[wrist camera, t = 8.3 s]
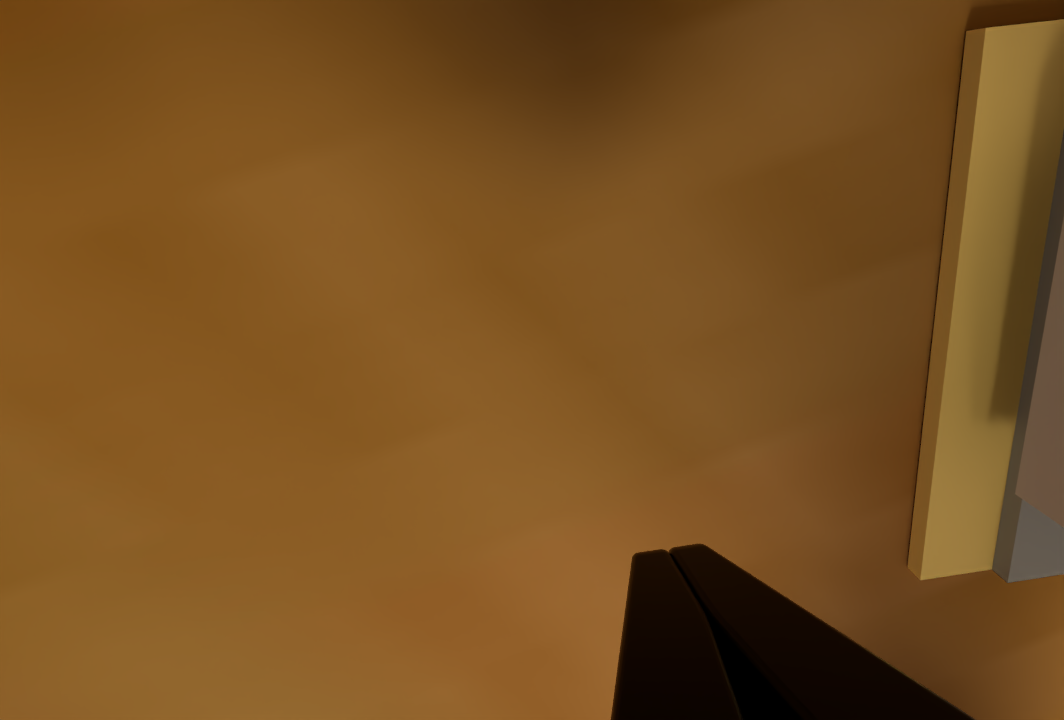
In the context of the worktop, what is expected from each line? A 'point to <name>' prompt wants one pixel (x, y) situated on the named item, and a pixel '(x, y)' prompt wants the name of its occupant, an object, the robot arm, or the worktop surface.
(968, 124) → the dock
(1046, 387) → the trolley
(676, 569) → the robot arm
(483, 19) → the worktop surface
